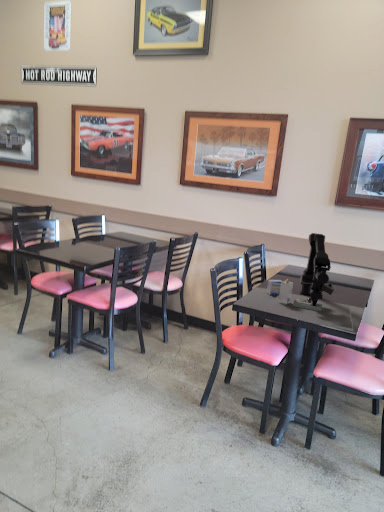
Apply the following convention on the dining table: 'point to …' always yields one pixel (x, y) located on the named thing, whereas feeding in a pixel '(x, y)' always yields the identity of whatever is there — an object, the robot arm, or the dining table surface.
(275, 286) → the medicine box
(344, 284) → the dining table surface
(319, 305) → the press bed
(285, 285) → the housing
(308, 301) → the ram
